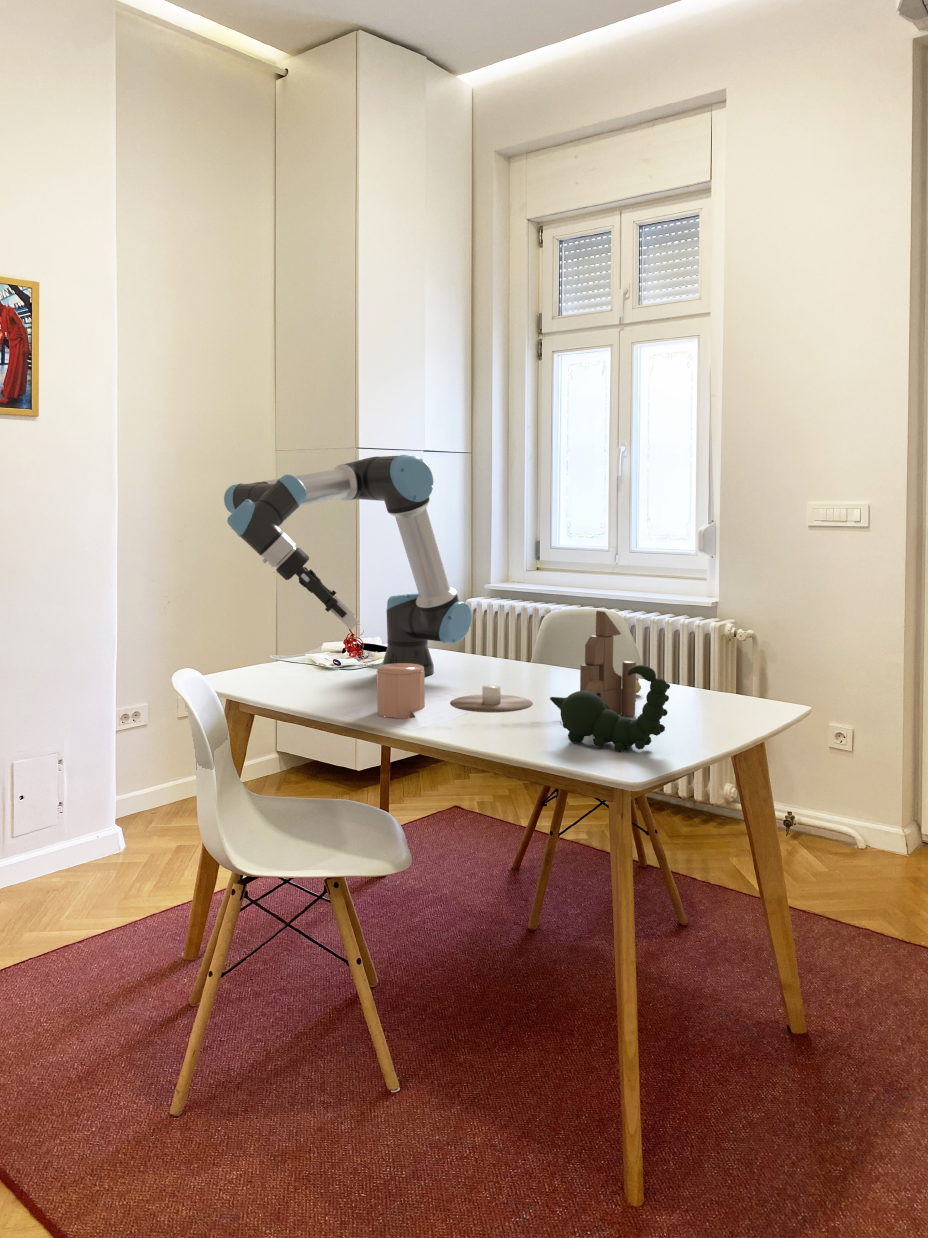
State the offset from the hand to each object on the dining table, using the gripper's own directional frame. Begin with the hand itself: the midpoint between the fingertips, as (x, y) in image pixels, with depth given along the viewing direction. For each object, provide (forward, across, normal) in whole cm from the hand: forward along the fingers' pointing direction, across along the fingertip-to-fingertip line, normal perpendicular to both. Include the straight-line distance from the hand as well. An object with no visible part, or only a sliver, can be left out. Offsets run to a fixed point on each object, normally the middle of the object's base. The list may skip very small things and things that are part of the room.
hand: (353, 622), depth 223 cm
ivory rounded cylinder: (+38, 0, +9) cm, 39 cm away
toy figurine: (+50, +38, +19) cm, 66 cm away
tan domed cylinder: (+24, 0, -8) cm, 25 cm away
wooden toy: (+56, +14, +25) cm, 63 cm away
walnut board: (+39, 0, +8) cm, 40 cm away
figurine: (+65, -6, +34) cm, 73 cm away
